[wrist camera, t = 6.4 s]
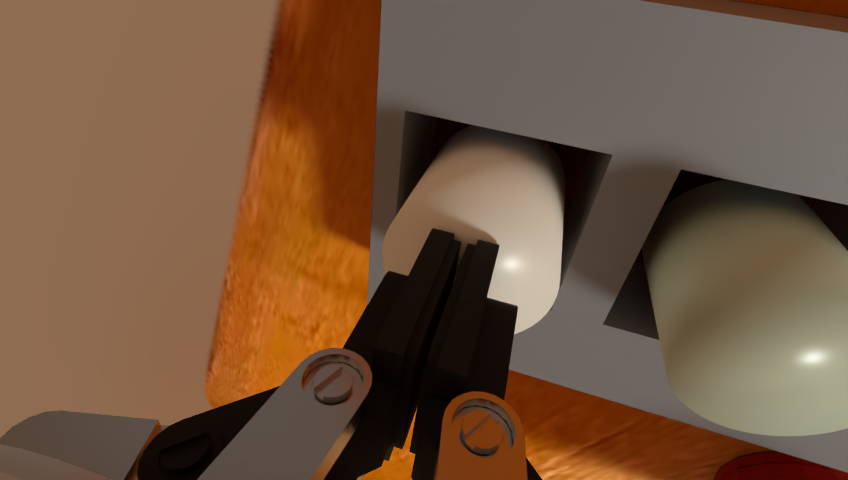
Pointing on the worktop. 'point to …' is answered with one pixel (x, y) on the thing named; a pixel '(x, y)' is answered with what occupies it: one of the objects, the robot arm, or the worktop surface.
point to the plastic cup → (777, 468)
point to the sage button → (751, 309)
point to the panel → (620, 149)
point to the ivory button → (491, 214)
